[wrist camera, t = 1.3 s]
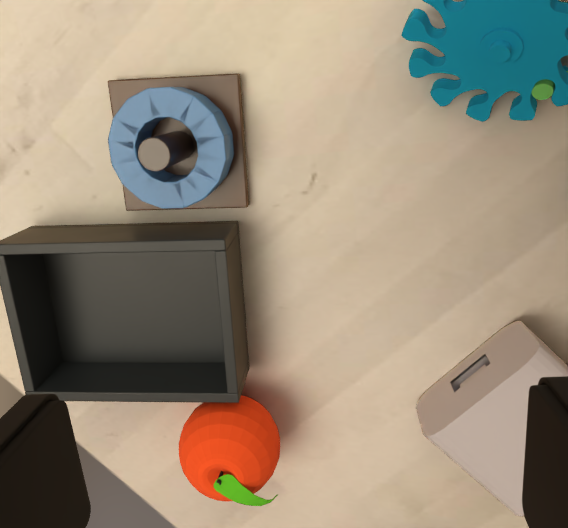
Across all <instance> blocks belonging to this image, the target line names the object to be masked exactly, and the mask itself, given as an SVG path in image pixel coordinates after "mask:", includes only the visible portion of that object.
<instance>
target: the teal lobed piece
mask: <svg viewBox="0 0 568 528" xmlns="http://www.w3.org/2000/svg"><path fill="white" fill-rule="evenodd" d="M423 1H424V2H426V3H428V4H430V5H431V6H433V7H434V8H435V9H436V10H437V11H438V12H439V13H440V15H441V16H442V18H443V20H444V23H445V26H446V27H445V28H442V29H437V28H435V27H433V26H432V25H431V23H430V20H429V18H428V16H427V14H426V13H425V12H424V11H423V10H420V9H414V10H413V11H412V12H411V14H410V15H409V17H408V20H407V22H406V24H405V27H404V29H403V32H402V36H403V38H405V39H406V40H409V41H420V42H425V43H428V44H430V45H433V46H434V47H436V48H437V49H439V50H440V51H441V52H442V53H443V54H444V55H445V56H443V57H437V56H434V55H433V54H432V53H430V52H429V51H427V50H426V49H423V48H417V49H414V50H413V52H412V55H411V57H410V60H409V70H410V74H411V76H412V77H416V78H420V77H423V76H426V75H428V74H432V73H447V74H452V75H456V76H458V77H459V78H460V79H459V80H451V79H446V78H441V79H438V80H436V81H435V82H434V84H433V87H432V89H431V92H430V93H431V96H432V98H433V99H434V100H435V101H436V102H437V103H438V104H439V105H440V106H446V105H448V104H450V103H451V101H452V100H453V99H454V98H455V97H456V96H458V95H459V94H461V93H463V92H466V91H470V90H475V89H482V90H484V91H486V92H487V93H485V94H481V95H476V96H474V97H472V98H471V99H470V101H469V104H468V108H467V111H466V114H467V115H468V116H470V117H472V118H474V119H476V120H479V121H482V122H483V121H486V120H487V119H488V118H489V116H490V113H491V109H492V105H493V103H494V102H495V101H496V100H497V99H498V98H499V97H500V96H502V95H503V94H504V93H506V92H509V91H515V92H518V93H519V94H520V95H519V96H517V97H516V98H515V99H514V100H513V102H512V105H511V109H510V113H509V116H510V118H511V119H513V120H532V119H533V118H534V117H535V113H536V108H537V101H536V99H538V100H545V99H548V98H550V97H551V96H552V99H551V100H552V102H553V104H554V105H556V106H563V105H567V104H568V3H567V2H561V1H558V0H463V1H461V2H455V1H452V0H423ZM535 98H536V99H535Z"/></svg>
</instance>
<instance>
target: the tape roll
mask: <svg viewBox="0 0 568 528" xmlns="http://www.w3.org/2000/svg"><path fill="white" fill-rule="evenodd" d="M167 117H170V118H173V119H175V120H178V121H181V122H182V123H183V124H184V125H185V126H187V127H188V128H189V129H190V130H191V132H192V134H193V136H194V138H195V140H196V141H197V149H198V158H197V161H196V164H195V167H194V169H193V170H192V171H191V172H190V173H189V174H188V175H174V174H172V173H169V172H166V171H165V170H161V171H157V172H154V171H150V170H148V169H146V168H145V167H144V166H143V165H142V164H141V162H140V161H139V158H138V148H139V145H140V144H141V142H142V141H144V140H145V139H147V138H150V137H151V135H152V132H153V129H154V128H155V126H156V125H157V124H158V123H159V121H161V120H163V119H165V118H167ZM108 143H109V150H110V156H111V163H112V166H113V168H114V170H115V171H116V173H117V175H118V177H119V179H120V180H121V182H122V184H123V185H124V186H125V187H126V188H127V189H128V190H129V191H131V192H132V193H133V194H134V195H135V196H136V197H138V198H139V199H140V200H141V201H143V202H146V203H148V204H151V205H154V206H156V207H159V208H163V209H170V208H185V207H188V206H190V205H192V204H195V203H197V202H199V201H201V200H203V199H204V198H206V197H207V196H208V195H209V194H211V193H212V192H213V191H214V190H215V189H216V188H217V187H218V186H219V185H220V183H221V182H222V181H223V180H224V179H225V178H226V176H227V175H228V172H229V169H230V166H231V163H232V160H233V156H234V148H233V135H232V131H231V129H230V127H229V125H228V122H227V120H226V118H225V116H224V114H223V112H222V111H221V110H220V109H219V108H218V107H217V106H216V105H215V104H214V103H213V102H212V101H210V100H209V99H208V98H207V97H206V96H204V95H203V94H200V93H197V92H195V91H192V90H190V89H187V88H183V87H159V88H148V89H145V90H143V91H141V92H139V93H138V94H136V95H134V96H132V97H130V98H128V100H126V101H125V103H124V104H123V105H122V107H121V108H120V109H119V111H118V112H117V113H116V115H115V116H114V118H113V121H112V125H111V129H110V133H109V138H108Z"/></svg>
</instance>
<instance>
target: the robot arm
mask: <svg viewBox="0 0 568 528" xmlns="http://www.w3.org/2000/svg"><path fill="white" fill-rule="evenodd" d="M522 507H523V512H524V516H525V519H526V522H527V524H528V526H529V528H568V376H564V377H542V378H541V379H540V380H539V382H538V385H532V386H530V389H529V396H528V411H527V427H526V443H525V458H524V474H523V490H522ZM90 509H91V508H90V501H89V497H88V492H87V488H86V484H85V480H84V475H83V472H82V467H81V463H80V459H79V454H78V450H77V446H76V442H75V437H74V433H73V429H72V425H71V420H70V416H69V412H68V408H67V405H66V403H65V402H64V401H62V400H59V398H58V397H57V395H55V394H29V395H25V396H23V397H22V398H21V399H20V400H19V401H18V402H17V403H16V404H15V405H14V406H13V407H12V408H11V409H10V410H9V411H8V412H7V413H6V414H5V415H3V416H2V417H1V419H0V528H85V527H86V526H87V524H88V521H89V518H90V512H91V511H90Z"/></svg>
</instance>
